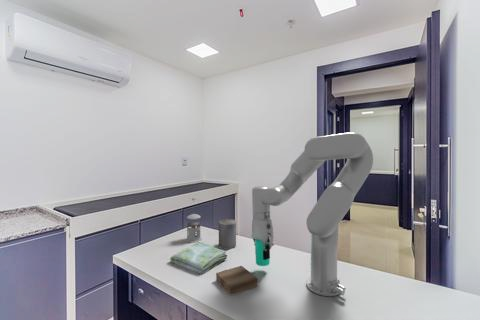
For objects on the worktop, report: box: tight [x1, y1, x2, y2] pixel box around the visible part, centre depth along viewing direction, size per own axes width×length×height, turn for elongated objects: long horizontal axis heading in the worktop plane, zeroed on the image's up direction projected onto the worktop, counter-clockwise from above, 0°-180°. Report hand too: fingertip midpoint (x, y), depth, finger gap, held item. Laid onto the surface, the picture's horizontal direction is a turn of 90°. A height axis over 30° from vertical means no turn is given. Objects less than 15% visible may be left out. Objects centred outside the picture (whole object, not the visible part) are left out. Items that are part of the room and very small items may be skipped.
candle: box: [254, 239, 271, 267], centre depth 103 cm, size 6×6×12 cm
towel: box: [169, 241, 228, 275], centre depth 113 cm, size 18×21×5 cm
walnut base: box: [215, 265, 259, 296], centre depth 94 cm, size 12×12×3 cm
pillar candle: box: [218, 218, 237, 250], centre depth 131 cm, size 10×10×15 cm
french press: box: [185, 197, 203, 244], centre depth 141 cm, size 10×12×25 cm
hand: (262, 256), depth 103 cm, fingers closed on candle, 4 cm apart
